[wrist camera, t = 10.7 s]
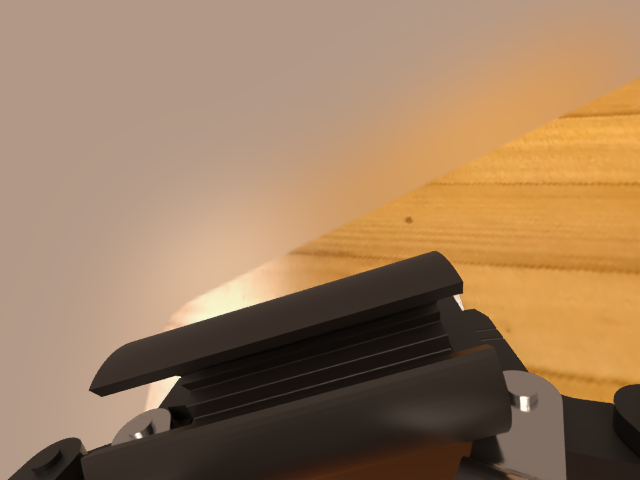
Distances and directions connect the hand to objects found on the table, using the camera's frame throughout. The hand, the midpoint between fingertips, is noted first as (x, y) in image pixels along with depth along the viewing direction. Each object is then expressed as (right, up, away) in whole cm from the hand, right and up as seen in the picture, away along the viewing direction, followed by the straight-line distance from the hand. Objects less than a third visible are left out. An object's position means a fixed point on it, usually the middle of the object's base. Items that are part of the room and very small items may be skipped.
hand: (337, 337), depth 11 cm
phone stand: (+1, -4, +4) cm, 6 cm away
